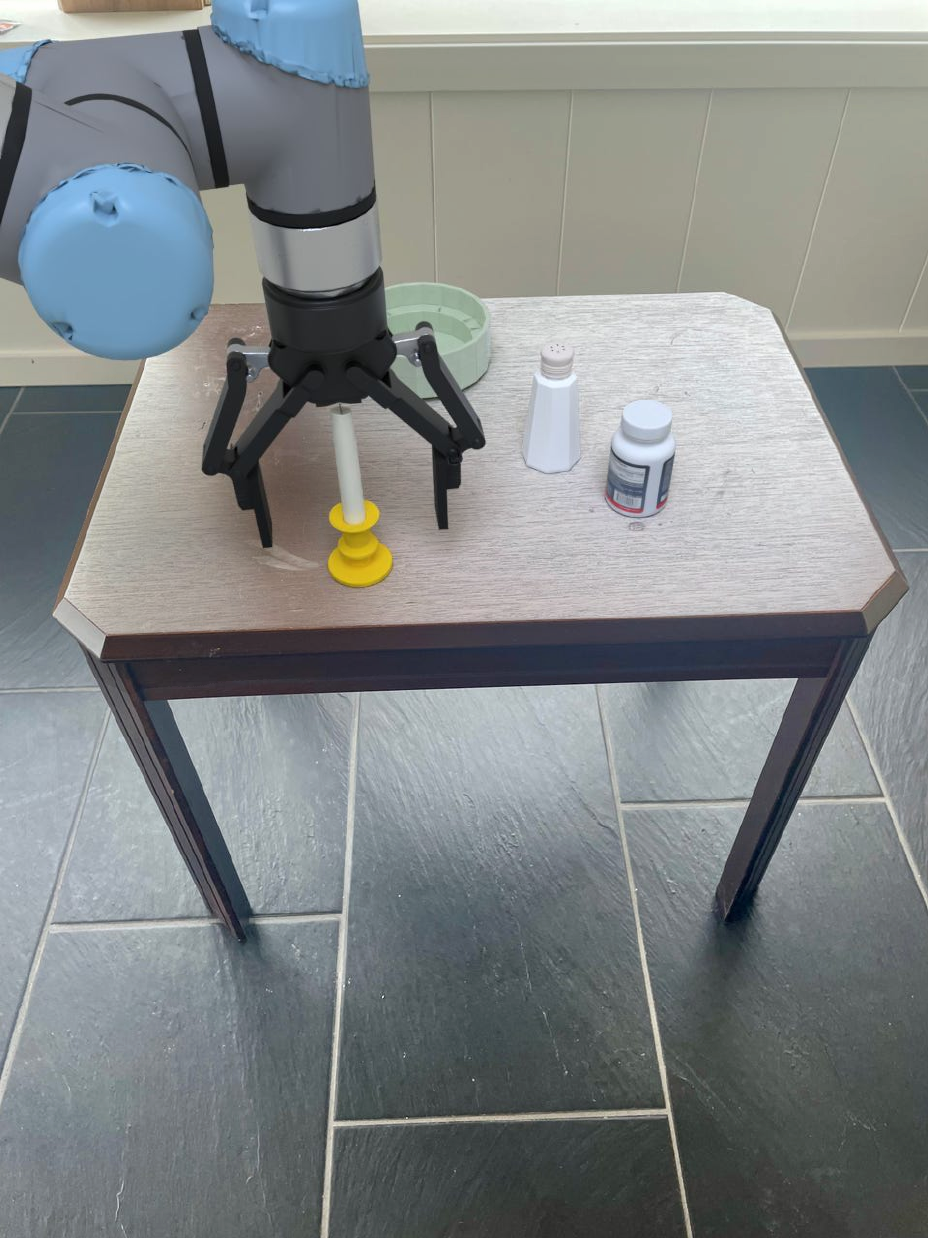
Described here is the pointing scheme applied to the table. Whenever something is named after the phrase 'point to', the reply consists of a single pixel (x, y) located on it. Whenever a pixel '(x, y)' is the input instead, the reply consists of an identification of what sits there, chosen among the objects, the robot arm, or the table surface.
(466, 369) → the bowl
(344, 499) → the candle
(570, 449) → the pepper shaker
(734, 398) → the table surface
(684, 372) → the table surface
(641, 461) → the pill bottle
